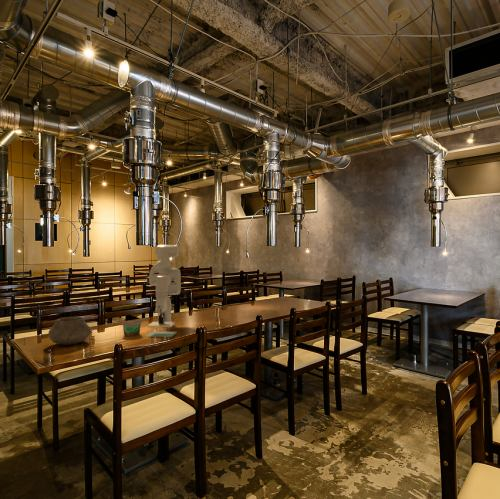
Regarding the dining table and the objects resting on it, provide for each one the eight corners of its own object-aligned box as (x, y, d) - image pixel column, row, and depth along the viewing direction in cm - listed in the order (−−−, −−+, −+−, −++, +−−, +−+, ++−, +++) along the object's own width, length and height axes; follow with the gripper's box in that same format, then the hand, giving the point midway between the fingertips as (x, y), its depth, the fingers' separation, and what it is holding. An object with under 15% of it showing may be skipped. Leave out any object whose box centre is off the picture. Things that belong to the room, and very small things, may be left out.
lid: (153, 323, 221) (152, 314, 221) (175, 323, 221) (175, 314, 220) (147, 327, 211) (147, 317, 211) (171, 327, 211) (170, 318, 210)
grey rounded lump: (80, 337, 210) (81, 313, 210) (96, 343, 196) (97, 317, 196) (42, 344, 193) (42, 319, 193) (57, 351, 179) (57, 323, 180)
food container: (120, 338, 206) (120, 322, 206) (121, 336, 212) (121, 320, 212) (141, 337, 209) (141, 321, 209) (141, 335, 215) (141, 319, 215)
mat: (152, 332, 222) (152, 331, 222) (177, 332, 221) (177, 331, 221) (145, 337, 209) (145, 336, 209) (171, 337, 208) (171, 336, 208)
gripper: (159, 292, 224) (160, 319, 224) (151, 296, 207) (152, 325, 208) (170, 292, 223) (170, 319, 224) (163, 296, 207) (163, 325, 208)
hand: (161, 322), depth 216 cm, fingers closed on lid, 3 cm apart
